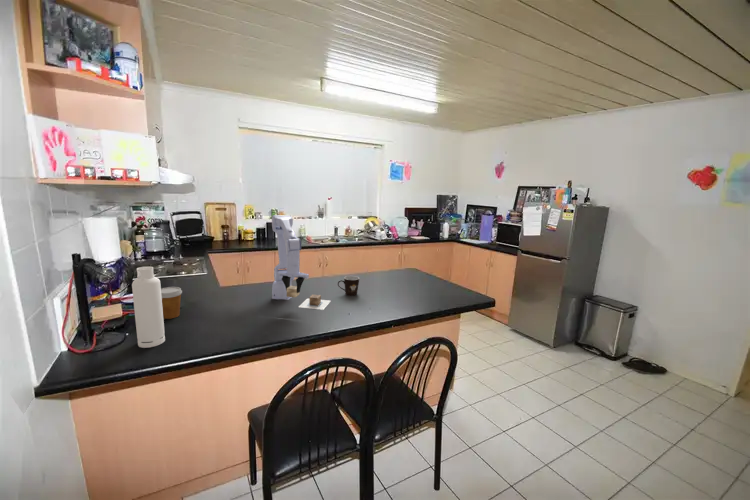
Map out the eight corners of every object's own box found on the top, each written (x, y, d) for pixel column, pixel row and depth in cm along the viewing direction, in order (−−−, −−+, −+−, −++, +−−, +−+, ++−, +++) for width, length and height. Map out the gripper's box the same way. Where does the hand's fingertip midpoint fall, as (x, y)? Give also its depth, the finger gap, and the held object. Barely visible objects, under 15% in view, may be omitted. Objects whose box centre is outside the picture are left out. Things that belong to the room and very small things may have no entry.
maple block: (286, 296, 146) (286, 288, 145) (290, 293, 150) (290, 285, 149) (295, 297, 145) (295, 289, 144) (299, 294, 150) (299, 286, 149)
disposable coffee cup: (188, 314, 139) (187, 288, 137) (168, 322, 130) (166, 294, 128) (173, 310, 142) (171, 285, 140) (152, 318, 133) (150, 291, 131)
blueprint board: (298, 308, 152) (298, 306, 152) (307, 299, 165) (307, 298, 165) (323, 310, 151) (323, 309, 150) (330, 301, 163) (331, 300, 163)
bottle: (133, 343, 112) (126, 268, 107) (158, 335, 119) (152, 264, 114) (144, 349, 108) (136, 272, 103) (169, 341, 115) (163, 268, 110)
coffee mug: (359, 293, 179) (360, 276, 177) (357, 298, 171) (358, 280, 169) (340, 291, 180) (340, 274, 178) (336, 296, 172) (337, 279, 170)
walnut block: (309, 304, 156) (309, 297, 155) (312, 301, 160) (312, 294, 159) (318, 305, 155) (318, 298, 154) (320, 302, 160) (320, 295, 159)
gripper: (274, 264, 142) (275, 293, 145) (305, 267, 140) (304, 295, 143) (281, 261, 149) (281, 288, 151) (310, 263, 147) (310, 291, 150)
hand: (293, 291), depth 148 cm, fingers closed on maple block, 4 cm apart
